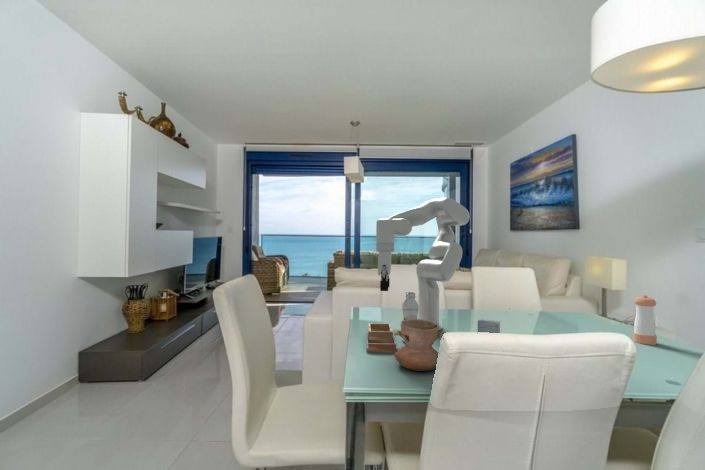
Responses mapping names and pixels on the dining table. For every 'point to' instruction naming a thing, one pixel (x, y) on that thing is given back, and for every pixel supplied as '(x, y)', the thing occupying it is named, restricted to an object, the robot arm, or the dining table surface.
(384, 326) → the box
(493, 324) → the medicine box
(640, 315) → the pepper shaker
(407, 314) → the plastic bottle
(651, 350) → the dining table surface
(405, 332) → the ceramic jug
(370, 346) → the wooden tray
